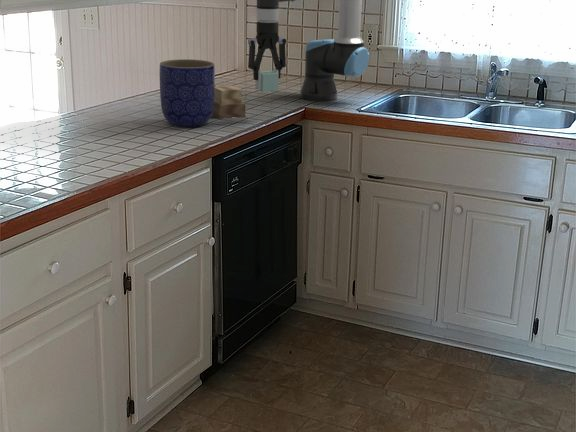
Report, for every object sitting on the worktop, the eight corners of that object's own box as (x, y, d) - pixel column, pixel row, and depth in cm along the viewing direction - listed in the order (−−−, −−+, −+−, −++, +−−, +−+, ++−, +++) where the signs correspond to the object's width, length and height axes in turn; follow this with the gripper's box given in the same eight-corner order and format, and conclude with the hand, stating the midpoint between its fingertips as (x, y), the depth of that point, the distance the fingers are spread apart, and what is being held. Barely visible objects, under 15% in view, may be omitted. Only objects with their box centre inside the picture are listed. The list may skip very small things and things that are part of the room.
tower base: (234, 112, 300) (234, 98, 298) (245, 117, 292) (245, 103, 290) (208, 113, 296) (208, 100, 294) (219, 119, 287) (219, 105, 286)
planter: (200, 132, 267) (199, 69, 260) (150, 126, 273) (149, 64, 266) (223, 121, 284) (223, 61, 277) (176, 116, 289) (175, 57, 283)
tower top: (232, 99, 297) (232, 85, 296) (242, 103, 291) (242, 89, 289) (212, 100, 294) (212, 86, 292) (221, 104, 287) (221, 90, 285)
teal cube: (270, 87, 289) (271, 70, 287) (278, 90, 284) (278, 73, 282) (255, 88, 286) (255, 71, 284) (262, 91, 281) (263, 74, 279)
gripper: (287, 18, 284) (286, 84, 292) (237, 20, 276) (237, 88, 284) (297, 21, 278) (295, 88, 286) (246, 23, 270) (246, 92, 277)
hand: (266, 88), depth 285 cm, fingers closed on teal cube, 6 cm apart
